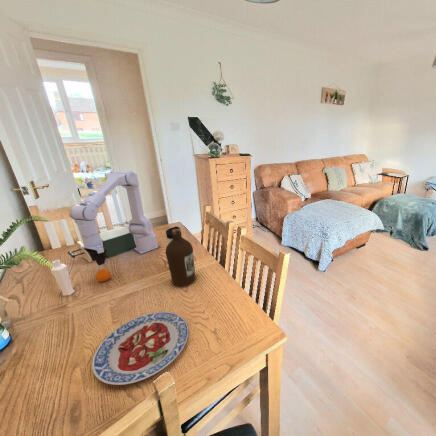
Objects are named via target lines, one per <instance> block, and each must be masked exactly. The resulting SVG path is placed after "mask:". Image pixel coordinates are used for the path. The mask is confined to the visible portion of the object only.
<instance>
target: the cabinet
mask: <svg viewBox="0 0 436 436" xmlns="http://www.w3.org/2000/svg"><path fill="white" fill-rule="evenodd" d="M99 234H100V237H101V240H102V242H103V244H104V248H106V249H107V251H106V254H107V255H105V258H107V259H108V258H111V257H115V256H117V255H119V254H122V253H126V252H128V251H131V250H135V249H134V248H137V245H136V241H135V237H134V236H133V234H131V233H130V232H129V229H128V228H127V227H125V226H119V227H116V228H112V229H108V230H105V231H102V232H99Z"/></svg>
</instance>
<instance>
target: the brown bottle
mask: <svg viewBox="0 0 436 436" xmlns="http://www.w3.org/2000/svg"><path fill="white" fill-rule="evenodd" d="M180 231H181V228H180V229H174V230H172V236H173V239H172V241H171V242H170V243H169V244H168V243H167V245H166V247H165V257H166V260H167V261H166V262H167V265H168V268H169V273H170V277H171V282H172V285H173V286H175V287H179V288H181V287H186V286H189V285H191V284H192V283H194V282H195V280H196V272H195V271H196V266H195V258H194V248H193V245H192V243H191V242H190V241H189V240H187V239H185V238H184V237H183V235H182V231H181V232H180Z"/></svg>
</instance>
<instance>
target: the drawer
mask: <svg viewBox="0 0 436 436" xmlns="http://www.w3.org/2000/svg"><path fill="white" fill-rule="evenodd" d="M76 243H77V247H78V249H75V250H72V251H71V250H68V251H67V254H68V256H70V258H72V259H75V258H76V257H78V256H82V258H84V259H85V260H86V261H87V262H88V263H91V262H93V260H92V258H91V257H90V255H89V254H88V252H87V251H86V250H85V249H82V248H81V247H80V246H82V245H84V243H83V241H81V240H77V241H76ZM103 248H104V244H103ZM76 252H80V253H76ZM75 253H76V254H75ZM105 255H107V254H105Z"/></svg>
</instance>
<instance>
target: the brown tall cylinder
mask: <svg viewBox="0 0 436 436" xmlns="http://www.w3.org/2000/svg"><path fill="white" fill-rule="evenodd" d="M174 229H180V230H181V228H180V227H179V226H174V227H170V228H168V229H166V230H165V235H166V242H167V245H168V244H169V243H170V242H171V241H172V239H173V236H172V230H174ZM180 232H181V233H182V231H180Z"/></svg>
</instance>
